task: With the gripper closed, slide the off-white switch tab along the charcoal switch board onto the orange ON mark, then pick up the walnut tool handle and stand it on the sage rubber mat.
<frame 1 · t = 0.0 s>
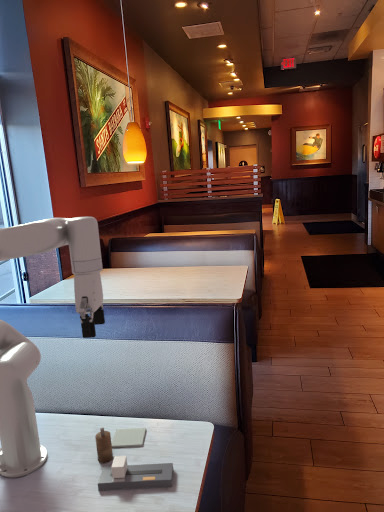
hand: (94, 330, 105), 37 cm above the table, fingers open, 9 cm apart
tool handle: (105, 458, 111), on the table
switch board: (136, 480, 102), on the table
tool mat: (129, 438, 119), on the table
switch tab: (119, 466, 101), point 4 cm above the table, slide at 0.0 cm
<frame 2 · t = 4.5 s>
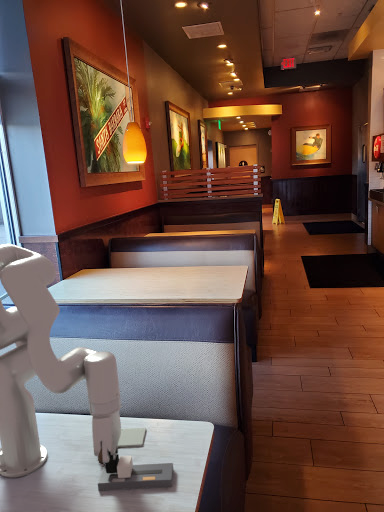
hand: (113, 470, 101), 3 cm above the table, fingers closed
switch tab: (125, 466, 101), point 4 cm above the table, slide at 1.4 cm, touching gripper
everything else where it was.
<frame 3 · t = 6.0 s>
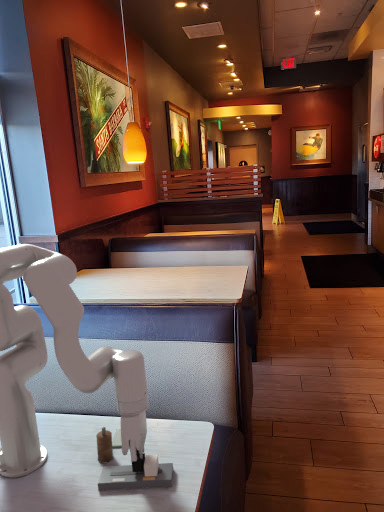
hand: (139, 469, 101), 3 cm above the table, fingers closed
switch tab: (151, 465, 101), point 4 cm above the table, slide at 8.0 cm, touching gripper
everything else where it was.
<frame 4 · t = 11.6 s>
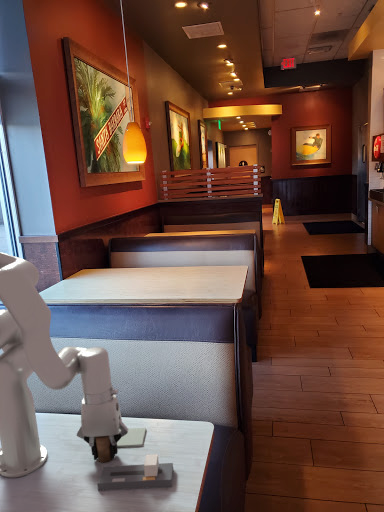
hand: (105, 455, 111), 1 cm above the table, fingers closed on tool handle, 4 cm apart
tool handle: (105, 458, 111), on the table, touching gripper
switch tab: (151, 465, 101), point 4 cm above the table, slide at 8.0 cm
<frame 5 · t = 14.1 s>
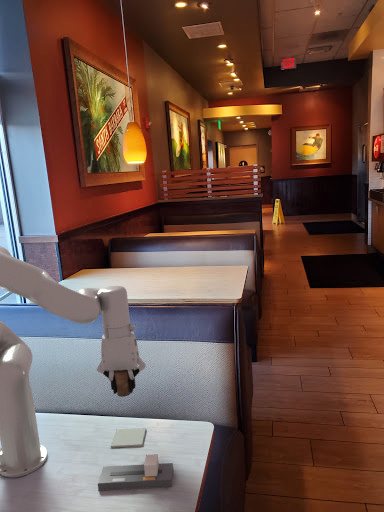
hand: (123, 390, 116), 15 cm above the table, fingers closed on tool handle, 4 cm apart
tool handle: (124, 393, 116), point 14 cm above the table, touching gripper
everything else where it was.
when the fingers open (3 cm above the table, at t = 16.7 s): tool handle drops 1 cm, resting on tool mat.
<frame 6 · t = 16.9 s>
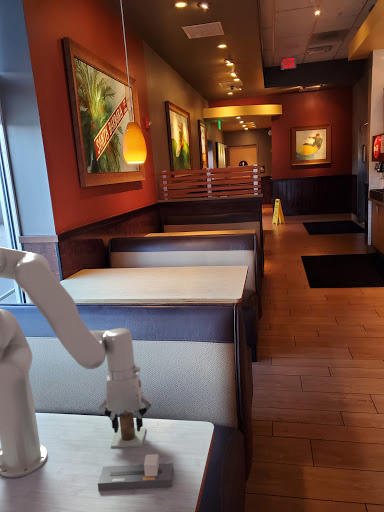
hand: (127, 428, 118), 3 cm above the table, fingers open, 6 cm apart
tool handle: (128, 436, 119), point 1 cm above the table, touching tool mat
everything else where it was.
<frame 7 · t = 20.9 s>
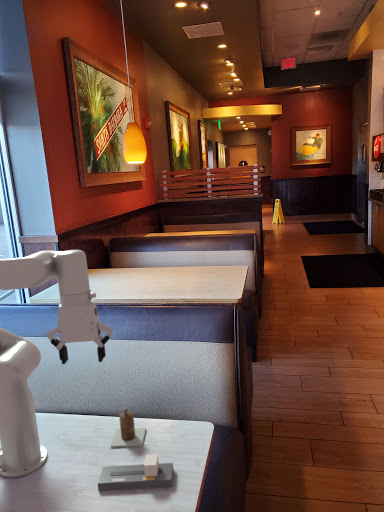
hand: (83, 361, 107), 28 cm above the table, fingers open, 9 cm apart
nothing on the table moved.
at the end: switch tab slide at 8.0 cm; tool handle 0.1 cm off-centre on the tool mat, point 0.6 cm above the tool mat's base; tool handle tilted 0° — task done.
